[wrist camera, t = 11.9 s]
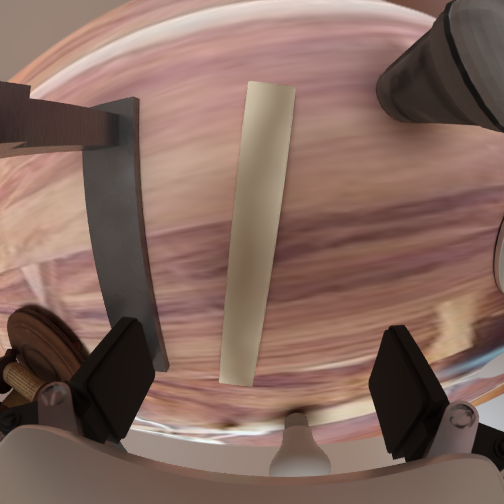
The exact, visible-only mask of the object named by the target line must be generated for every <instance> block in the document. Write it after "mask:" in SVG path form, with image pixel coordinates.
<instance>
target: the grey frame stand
mask: <svg viewBox="0 0 504 504" xmlns="http://www.w3.org/2000/svg"><path fill="white" fill-rule="evenodd" d="M30 88H31V86H29V85H23V84H16V83H9V82H1V81H0V158H6V157H13V156H21V155H30V154H41V153H53V152H69V151H82V156H83V176H84V189H85V200H86V209H87V217H88V224H89V231H90V238H91V244H92V249H93V255H94V260H95V265H96V270H97V275H98V279H99V283H100V288H101V292H102V296H103V300H104V304H105V307H106V311H107V315H108V318H109V322H110V325H111V328H113V327H114V326H115V325H116V323H117V322H118V321H119V320H120V319H121V318H122V317H124V316H126V317H133V318H137V319H138V321H139V322H141V323H142V326H143V330H144V334H145V338H146V342H147V345H148V349H149V353H150V356H151V360H152V363H153V366H154V370H155V371H160V372H167V371H168V368H169V363H168V359H167V354H166V350H165V346H164V342H163V337H162V333H161V328H160V323H159V319H158V314H157V308H156V303H155V298H154V292H153V286H152V280H151V274H150V267H149V261H148V253H147V246H146V238H145V229H144V219H143V209H142V197H141V182H140V162H139V99H138V98H136V97H130V98H125V99H121V100H117V101H113V102H109V103H105V104H101V105H97V106H94V107H90V108H86V107H81V106H76V105H71V104H65V103H59V102H52V101H46V100H38V99H30V98H29V97H30ZM104 445H106V446H109V447H112V448H115V449H118V450H121V451H124V452H127V451H126V449H125V448H124V447H123V445H122V444H121V442H119V444H116V443H113V442H110V441H107V440H106V442H105V443H104ZM127 453H128V452H127Z"/></svg>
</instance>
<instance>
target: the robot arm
mask: <svg viewBox="0 0 504 504" xmlns="http://www.w3.org/2000/svg"><path fill="white" fill-rule="evenodd" d="M494 270H495V279H496V283H497V286H498V288H499V289H500V290H501V291H502V292H503V293H504V221H503V224H502V226H501V230H500V233H499V236H498V241H497V245H496V252H495V264H494ZM154 378H155V370H154V366H153V363H152V360H151V356H150V353H149V349H148V345H147V342H146V338H145V334H144V330H143V326H142V323H141V322H139V321H138V319H137V318H133V317H126V316H124V317H122V318H121V319H120V320H119V321H118V322H117V323H116V325H115V326H114V327H113V328H112V329H111V330H110V332H109V333H108V334H107V335H106V336H105V337H104V339H103V340H102V341H101V342H100V343H99V345H98V346H97V347H96V348H95V349H94V351H93V352H92V353H91V354H90V355H89V357H88V358H87V359H86V360H85V361H84V363H83V364H82V365H81V366H80V368H79V369H78V370H77V371H76V373H75V374H74V375H73V376H72V378H71V379H70V382H71V384H70V385H69V387H68V385H67V384H65V383H63V382H52V383H49V384H47V385H46V386H44V387H43V388H42V389H41V390H40V392H39V394H38V401H34V402H31V403H27V404H23V405H19V406H15V407H11V408H8V409H5V410H4V411H3V412H2V413H1V414H0V504H504V432H503V431H500V430H497V429H495V428H492V427H489V426H486V425H484V424H481V423H479V415H478V412H477V410H476V408H475V407H474V406H473V405H472V404H470V403H468V402H466V401H454V402H452V403H449V401H448V398H447V396H446V394H445V392H444V390H443V388H442V386H441V385H440V383H439V381H438V379H437V377H436V376H435V374H434V372H433V370H432V369H431V367H430V365H429V364H428V362H427V360H426V359H425V357H424V355H423V354H422V352H421V350H420V349H419V347H418V345H417V344H416V342H415V341H414V339H413V337H412V336H411V334H410V333H409V331H408V330H407V328H406V327H405V325H396V326H390V327H389V328H388V330H385V332H384V334H383V338H382V341H381V345H380V348H379V351H378V354H377V358H376V361H375V364H374V367H373V370H372V373H371V376H370V378H369V390H370V393H371V396H372V399H373V403H374V406H375V409H376V413H377V416H378V419H379V423H380V426H381V430H382V434H383V437H384V441H385V445H386V449H387V452H388V453H389V454H390V453H392V457H393V460H394V459H398V458H403V457H405V461H406V463H402V464H397V465H392V466H388V467H382V468H377V469H371V470H366V471H358V472H352V473H343V474H333V475H322V476H303V477H264V476H247V475H235V474H226V473H218V472H210V471H204V470H197V469H192V468H187V467H182V466H177V465H172V464H167V463H163V462H159V461H155V460H151V459H148V458H144V457H141V456H137V455H134V454H130V453H127V452H124V451H121V450H118V449H115V448H112V447H109V446H106V445H104V443H105V442H106V440H107V441H110V442H113V443H116V444H119V442H120V440H121V439H124V438H125V437H126V435H127V433H128V431H129V429H130V427H131V425H132V422H133V420H134V418H135V416H136V414H137V412H138V410H139V408H140V406H141V404H142V402H143V400H144V398H145V396H146V394H147V392H148V390H149V388H150V386H151V385H152V383H153V381H154Z"/></svg>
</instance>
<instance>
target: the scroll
mask: <svg viewBox="0 0 504 504" xmlns="http://www.w3.org/2000/svg"><path fill="white" fill-rule="evenodd" d="M7 331H8V336H9V340H10V344H11V347H12V349H7V351H6V353H5V356H3V357H0V394H4V393H7V392H9V391H10V390H11V388H13V390H12V391H11V393H10V394H9V395H8V396H7V397H6V398H5V400H4V401H3V402H0V414H1V413H2V412H3V411H4V410H5V409H8V408H11V407H15V406H19V405H23V404H27V403H31V402H34V401H38V394H39V392H40V390H41V389H42V388H43V387H44V386H46V385H47V384H49V383H52V382H63V383H65V384H67V385H68V387H69V385H70V384H71V382H70V379H71V378H72V376H73V375H74V374H75V373H76V371H77V370H78V369H79V368H80V366H81V365H82V364H83V363H84V361H85V360H84V358H83V357H82V355H81V354H80V352H79V349H80V345H81V343H80V342H79V341H76V342H73V343H72V342H71V341H70V340H69V339H68V337H67V336H66V335H65V334H64V333H63V332H62V331H61V330H60V329H59V328H58V327H57V326H56V325H55V324H53V323H52V322H51V321H50V320H48V319H47V318H46V317H44V316H43V315H41V314H39V313H38V312H36V311H34V310H31V309H27V308H20V309H18V310H16V311H15V312H14V313H13V314H11V315H10V317H9V319H8V323H7ZM16 358H17V360H18V361H19V363H18V362H17V360H16Z"/></svg>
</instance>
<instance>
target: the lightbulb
mask: <svg viewBox="0 0 504 504" xmlns="http://www.w3.org/2000/svg"><path fill="white" fill-rule="evenodd" d="M330 472H331V463H330V460H329V458H328V456H327V455H326V454H325V453H324V451H323V450H322V449H321V448H320V447H319V446H318V445H317V444H316V442H315V441H314V439H313V436H312V432H311V429H310V428H309V426H308V421H307V417H306V416H305V415H304V414H302V413H293V414H290V415H288V416H287V417H286V419H285V431H284V432H283V440H282V445H281V447H280V449H279V451H278V452H277V454H276V455H275V457H274V459H273V460H272V462H271V465H270V469H269V474H270V477H303V476H322V475H330Z"/></svg>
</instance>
